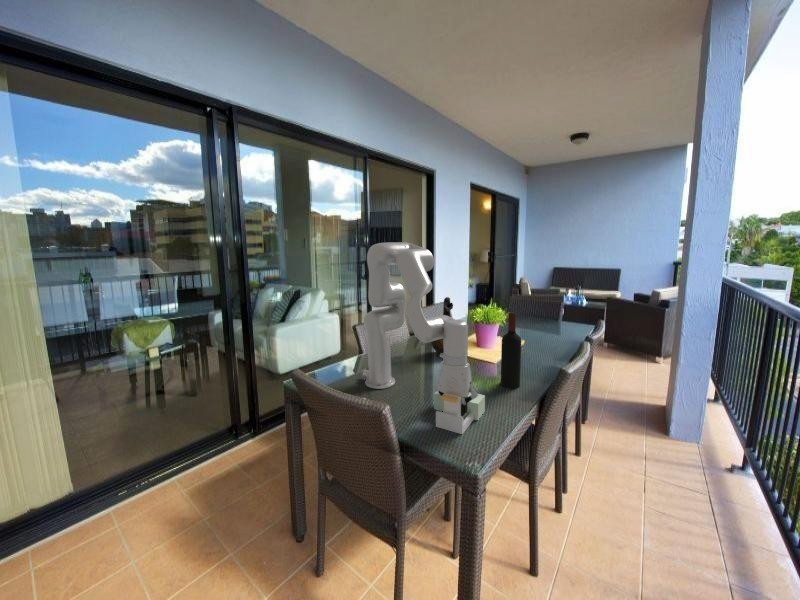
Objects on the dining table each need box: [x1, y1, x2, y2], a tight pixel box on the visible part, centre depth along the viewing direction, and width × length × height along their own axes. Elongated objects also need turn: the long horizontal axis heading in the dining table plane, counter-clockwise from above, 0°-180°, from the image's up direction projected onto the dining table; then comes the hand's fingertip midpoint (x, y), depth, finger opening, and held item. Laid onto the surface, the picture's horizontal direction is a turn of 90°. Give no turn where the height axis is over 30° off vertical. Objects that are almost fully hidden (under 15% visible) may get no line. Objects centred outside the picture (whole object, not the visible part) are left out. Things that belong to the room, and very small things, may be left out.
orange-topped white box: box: [441, 393, 467, 418], centre depth 110 cm, size 5×9×9 cm, turn 148°
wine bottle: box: [500, 311, 522, 390], centre depth 136 cm, size 8×8×30 cm
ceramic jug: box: [430, 296, 454, 358], centre depth 176 cm, size 17×15×30 cm
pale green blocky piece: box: [433, 390, 486, 435], centre depth 114 cm, size 16×17×10 cm
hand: (455, 411), depth 111 cm, fingers closed on orange-topped white box, 4 cm apart
